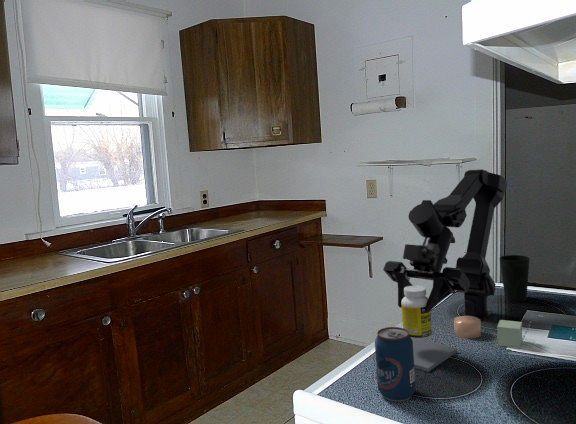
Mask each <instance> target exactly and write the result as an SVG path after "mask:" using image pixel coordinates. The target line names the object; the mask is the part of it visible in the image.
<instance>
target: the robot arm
mask: <svg viewBox="0 0 576 424" xmlns="http://www.w3.org/2000/svg"><path fill="white" fill-rule="evenodd" d="M507 188H508V182H507V179H506V178H504V177H503V176H502V175H501V174H497V173H492V172H489V171H487V170H485V169H468V170H466V171H465V172H464V175H463V178H462V179H461V180H460V181H459V183H458V184H457V185H456V186H455V187H454V189H453V190H452V191H451V193H450V194H448V196H446V197H443V198H440V199H439V200H437V201H436V202H434V203H433V202H432V200H431V199H426V200H425V199H424V200H422V201H421V203H419V204H417V205H416V206H413V208H412V209H411V210H410V211H409V212H408V219H409V222H410V223H411V225H412V226H413V227H414V228H415V230H416V231H417V233H418V234H419V235H420V236H421V237H422V238H423V242H422V245H420V244H419V245H418V244H409V243H408V244H407V243H406V244H404V248H403V255H402V259H403V260H408V261H409V262H408V263H409V265H410V266H411V267H413V268H408V267H407V266H405V264H404V263H403V262H402V261H395V260H388V261H386V263H385V264H384V267H383V268H382V270H383V271H384V273H385V274H386V275H387V276H388V277H389V278H390V279H391V281H393V282H395V283H397V306H398V307H399V308H401V309H402V307H401V301H402V299H403V298H404V297H405V295H404V288H405V287H407V286H413V284H412V283H411V281H410V280H411V279H412V278H414V279H420V280H427V281H428V280H429V281H432V288H431V291H430V293H429V296H428V297H427V298H428V301H427V304H426V308H425V311H426V313H429V312H430V311H431V312H432V310H433V309H434V308H435V307H436V306H438V305H439V304H440V303H441V302H442V301H443V300H444V299H446V298H447V297H449V296H450V295H451V294H452V295H453V294H456V293H463V296H464V298H463V299H464V300H463V301H464V303H463V304H464V310H463V311H462V312H460V313H459V316H473V317H477V318H479V319H480V321H484V320H485V319H487V318H488V317H490V316H492V315H493V314H494V311H492V310H489V309H488V308H489V306H488V305H489V304H488V302H489V301H488V297H489V296H495V292H496V283H495V281H494V279H493V278H492V276H491V275H490V274H491V273H490V272H491V269H490V267H489V265H488V262H487V260H486V256H487V250H488V245H489V240H490V233H491V228H492V225H493V224H492V223H493V218H494V213H495V208H496V207H498V205H499V204H500V203H501V202H502V201H503V199H504V196H505V192H506V191H507ZM472 200H474V202H475V206H474V212H473V217H472V222H471V225H470V226H471V227H470V231H469V232H470V233H469V237H468V243H467V248H466V252H465V254H464V255H463V256H461V257H458V258H457V259H456V265H455V267H449V266H446V267H443V266H444V265H447V263H448V258H447V254H448V251H449V248H450V245H451V244H455V243H456V238H455V236H454V234H453V231H452V230H450V228H460V227H461V226H463V224H464V222H465V220H466V218H467V212H466V211H467V210H466V209H467V207H468V205H469V204H470V203H471V201H472Z"/></svg>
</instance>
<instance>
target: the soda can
mask: <svg viewBox="0 0 576 424" xmlns="http://www.w3.org/2000/svg"><path fill="white" fill-rule="evenodd" d="M376 334H377V336H376V338H375V340H374V351H375V353H374V354H375V364H376V365H375V366H376V378H377V379H376V381H377V389H378V391H379V392H380V394H381V396H382V397H383V398H384V399H386V400H388V401H391V402H405V401H408V400H409V399H411V398H412V397H413V395H414V393H415V392H416V386H417V385H416V372H415V369H416V368H414V353H413V341H412V339H411V337H410V336H409V332H408V331H407V330H406V329H404V328H403V327H398V326H389V327H382V328H380V329H378V331H377V332H376Z"/></svg>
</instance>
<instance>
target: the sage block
mask: <svg viewBox="0 0 576 424" xmlns="http://www.w3.org/2000/svg"><path fill="white" fill-rule="evenodd" d="M496 330H497V331H496V332H497V346H499V347H506V348H512V347H519V348H518V349H521V347H520V346H522V344H521V343H523V322H522V321H515V320H505V319H500V320H499V321H498V323H497V328H496Z"/></svg>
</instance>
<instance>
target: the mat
mask: <svg viewBox="0 0 576 424" xmlns="http://www.w3.org/2000/svg"><path fill="white" fill-rule="evenodd" d="M413 353H414V369H417V370H420V371H423V372H427V373H429V372H430V371H432V370H433V369H435V368H436V367H437V366H439V365H441V364H442V363H443V362H445V361H446V360H448V359H449V358H451V357H452V356H453V355H455V354H456V353H458V349H457V348H456V347H452V346H449V345H444V344H442V343H441V344H440V343H436V342H434V341H433V342H432V341H428V340H425V341H413Z"/></svg>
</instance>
